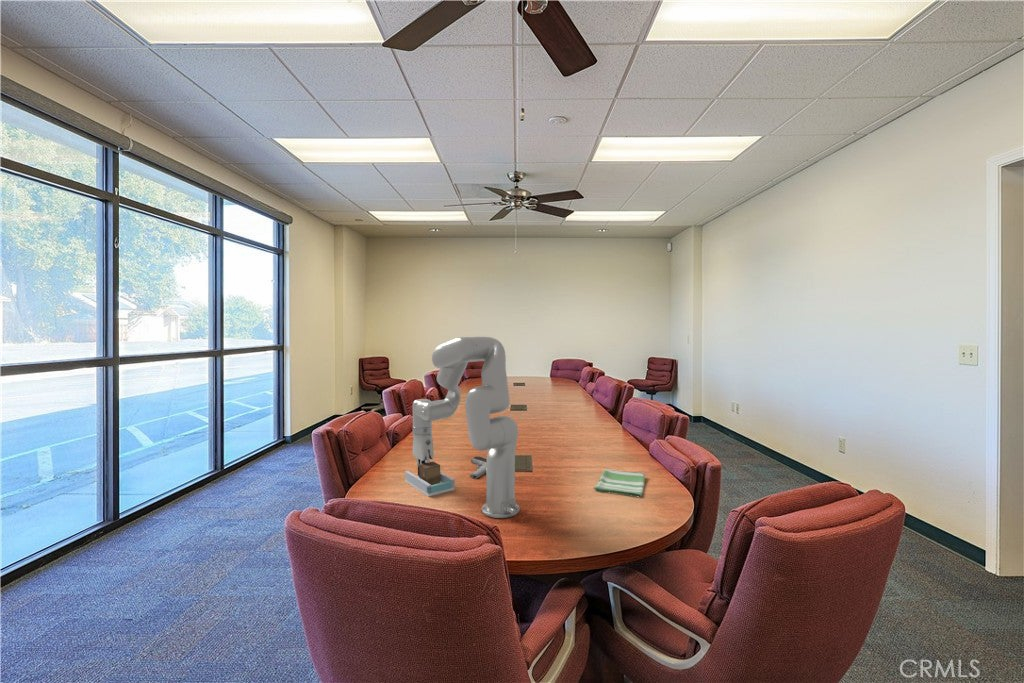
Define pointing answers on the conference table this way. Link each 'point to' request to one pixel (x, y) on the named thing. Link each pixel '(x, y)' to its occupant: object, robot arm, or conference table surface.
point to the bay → (428, 489)
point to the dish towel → (621, 482)
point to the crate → (430, 472)
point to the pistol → (479, 466)
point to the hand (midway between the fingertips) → (422, 475)
